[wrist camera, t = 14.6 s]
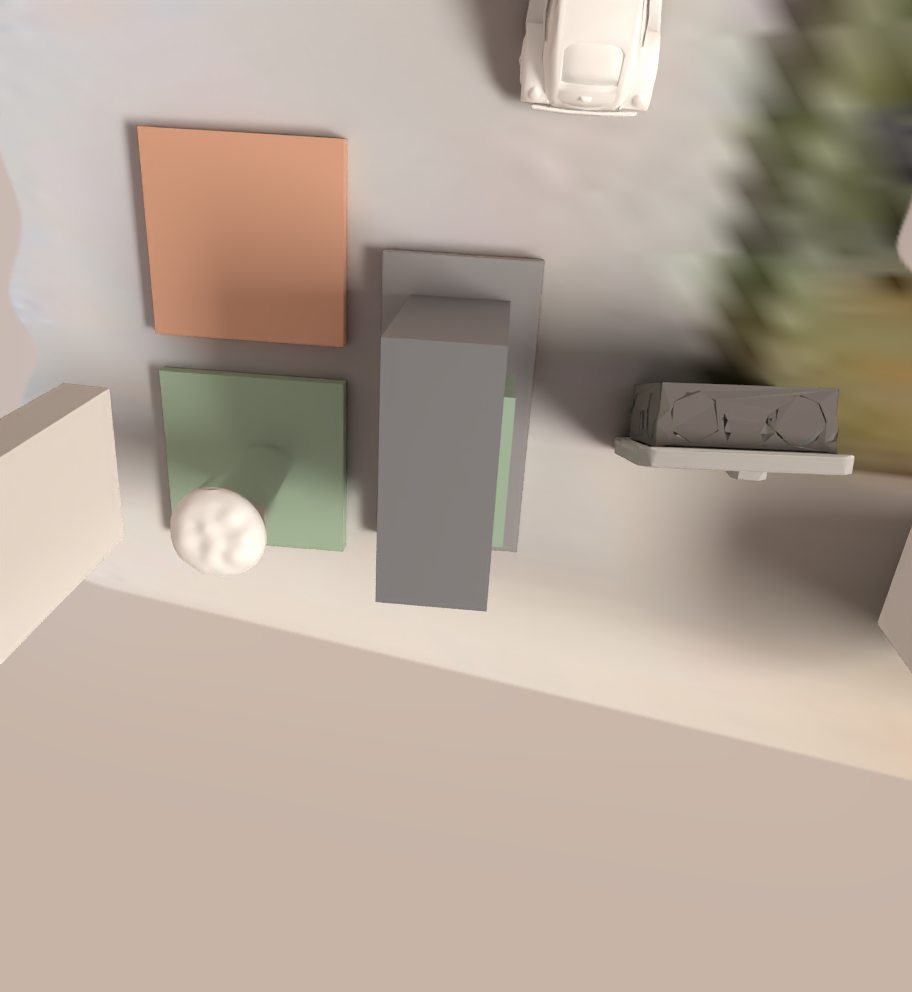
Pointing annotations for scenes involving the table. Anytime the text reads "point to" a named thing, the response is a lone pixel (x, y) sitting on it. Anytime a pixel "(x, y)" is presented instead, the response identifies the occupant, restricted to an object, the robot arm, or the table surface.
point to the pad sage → (262, 442)
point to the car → (590, 55)
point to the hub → (452, 421)
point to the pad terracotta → (246, 234)
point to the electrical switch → (735, 429)
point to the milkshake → (232, 512)
